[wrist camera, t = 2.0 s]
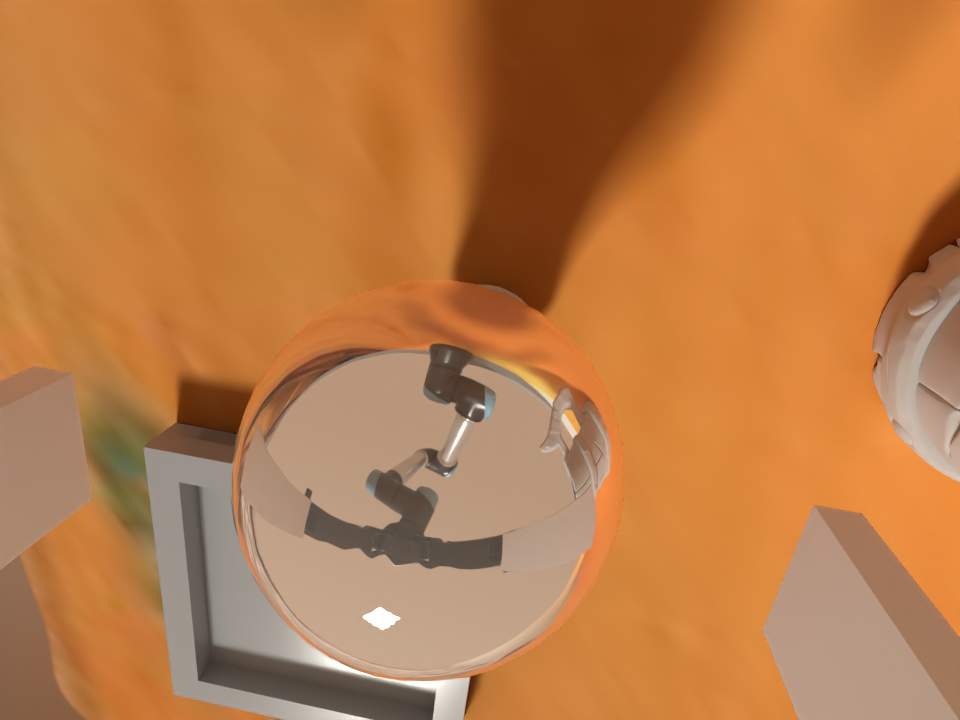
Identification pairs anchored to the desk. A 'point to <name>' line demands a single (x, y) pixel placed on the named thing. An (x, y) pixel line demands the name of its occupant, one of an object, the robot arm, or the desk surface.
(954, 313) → the mug
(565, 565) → the light bulb
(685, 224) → the desk surface
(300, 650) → the dish
